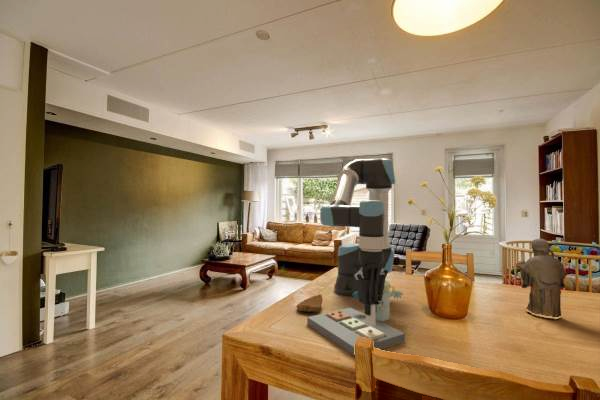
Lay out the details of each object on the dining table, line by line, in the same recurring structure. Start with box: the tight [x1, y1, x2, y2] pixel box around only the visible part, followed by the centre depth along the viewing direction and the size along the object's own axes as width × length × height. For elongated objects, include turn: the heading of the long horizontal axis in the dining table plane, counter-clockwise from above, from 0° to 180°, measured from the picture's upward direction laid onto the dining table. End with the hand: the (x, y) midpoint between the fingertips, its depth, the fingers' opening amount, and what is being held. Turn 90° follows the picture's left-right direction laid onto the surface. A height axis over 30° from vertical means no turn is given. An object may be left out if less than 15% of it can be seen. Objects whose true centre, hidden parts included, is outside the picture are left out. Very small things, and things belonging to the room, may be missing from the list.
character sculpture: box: [351, 279, 404, 322], centre depth 110 cm, size 20×12×13 cm, turn 92°
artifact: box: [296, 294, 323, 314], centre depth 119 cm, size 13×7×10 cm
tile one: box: [357, 326, 385, 340], centre depth 90 cm, size 6×6×3 cm
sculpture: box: [517, 238, 568, 317], centre depth 116 cm, size 16×11×30 cm
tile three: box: [326, 309, 350, 322], centre depth 104 cm, size 6×6×3 cm
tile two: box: [341, 318, 366, 331], centre depth 97 cm, size 6×6×3 cm
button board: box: [306, 307, 406, 357], centre depth 97 cm, size 20×26×2 cm
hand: (370, 324), depth 91 cm, fingers closed
